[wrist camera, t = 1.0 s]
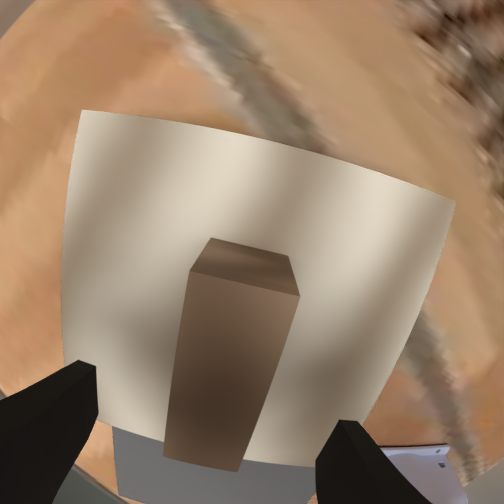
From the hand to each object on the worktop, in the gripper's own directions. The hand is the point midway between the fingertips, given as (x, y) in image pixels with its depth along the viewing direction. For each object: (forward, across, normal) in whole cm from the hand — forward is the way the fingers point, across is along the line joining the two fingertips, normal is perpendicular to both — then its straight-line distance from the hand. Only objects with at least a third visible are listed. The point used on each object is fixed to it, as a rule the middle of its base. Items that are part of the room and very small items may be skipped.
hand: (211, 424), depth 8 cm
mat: (+10, -2, +17) cm, 20 cm away
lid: (+6, 0, 0) cm, 6 cm away
